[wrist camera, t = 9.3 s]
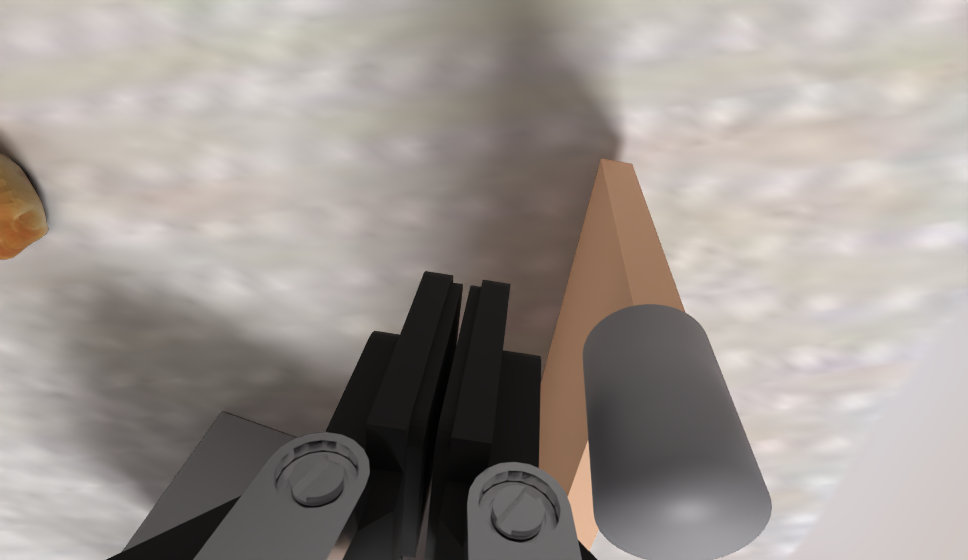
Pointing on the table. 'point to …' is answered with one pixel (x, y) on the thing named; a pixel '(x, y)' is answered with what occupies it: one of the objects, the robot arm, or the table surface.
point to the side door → (642, 399)
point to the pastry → (18, 210)
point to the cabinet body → (222, 476)
